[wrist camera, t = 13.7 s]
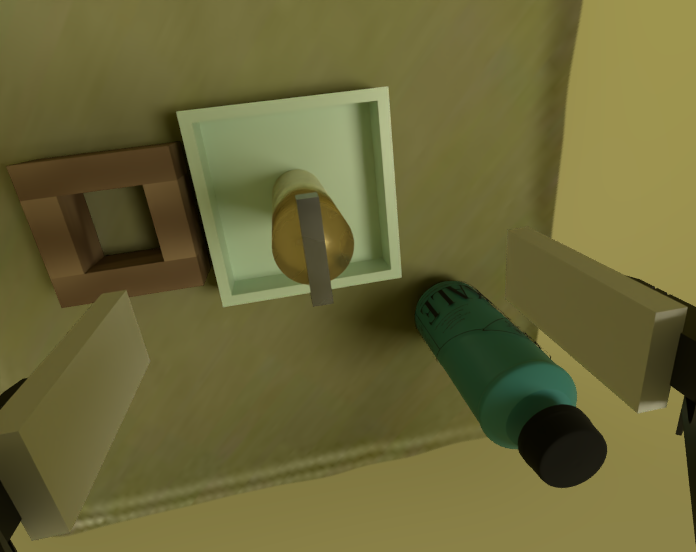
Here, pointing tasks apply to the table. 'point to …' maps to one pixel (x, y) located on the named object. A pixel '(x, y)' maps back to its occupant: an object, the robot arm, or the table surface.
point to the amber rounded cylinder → (309, 234)
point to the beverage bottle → (510, 384)
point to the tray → (284, 155)
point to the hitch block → (79, 232)
